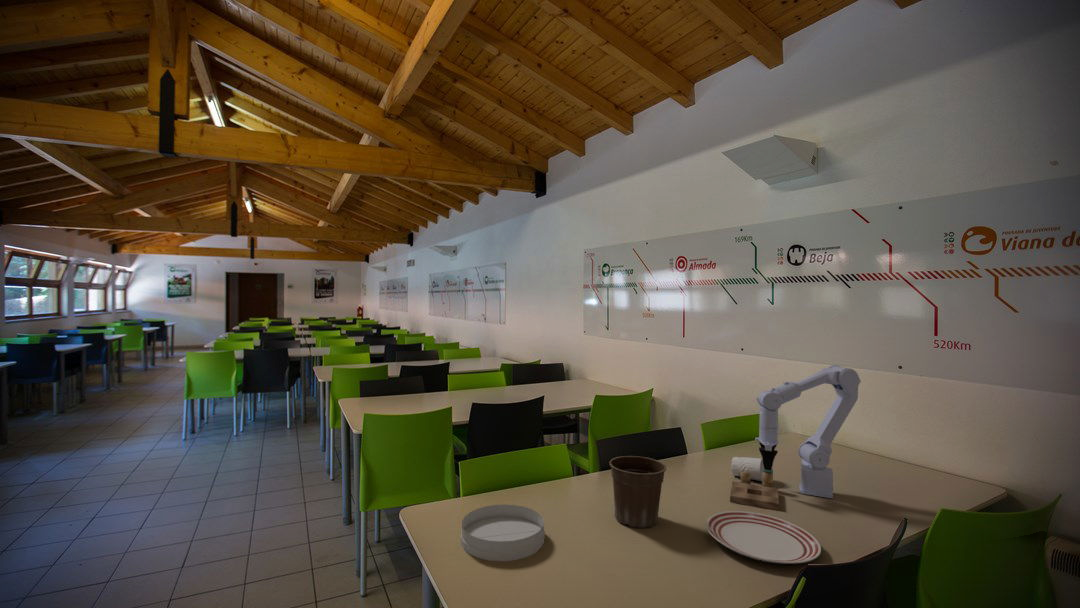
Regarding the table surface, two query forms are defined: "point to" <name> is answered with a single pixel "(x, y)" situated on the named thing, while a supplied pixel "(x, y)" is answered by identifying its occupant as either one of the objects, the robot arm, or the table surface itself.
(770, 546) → the dinner plate
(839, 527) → the table surface
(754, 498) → the wooden board with hole
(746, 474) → the short dowel
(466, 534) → the dish
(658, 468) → the plant pot
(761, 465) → the white cup
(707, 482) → the table surface
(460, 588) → the table surface
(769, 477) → the long dowel
